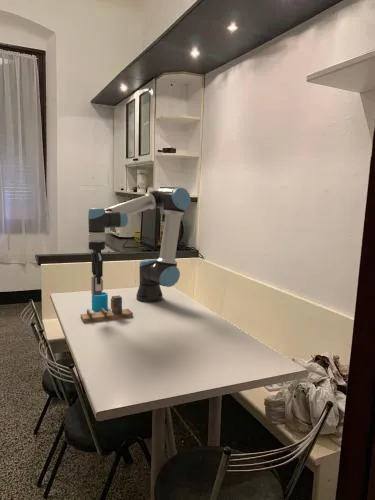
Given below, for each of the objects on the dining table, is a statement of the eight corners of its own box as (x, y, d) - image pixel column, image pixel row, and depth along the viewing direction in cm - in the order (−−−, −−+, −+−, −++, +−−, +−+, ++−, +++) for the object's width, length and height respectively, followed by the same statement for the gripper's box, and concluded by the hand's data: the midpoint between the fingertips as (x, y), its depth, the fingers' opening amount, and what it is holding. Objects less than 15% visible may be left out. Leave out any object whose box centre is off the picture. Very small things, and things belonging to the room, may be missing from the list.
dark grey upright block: (100, 292, 190) (101, 276, 189) (103, 294, 187) (103, 278, 186) (91, 293, 188) (91, 277, 187) (93, 295, 185) (93, 279, 183)
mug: (109, 310, 203) (109, 295, 202) (93, 312, 200) (93, 296, 198) (103, 304, 214) (103, 289, 213) (88, 305, 210) (88, 291, 209)
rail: (128, 312, 200) (128, 293, 199) (132, 316, 194) (132, 297, 192) (80, 318, 190) (80, 298, 188) (83, 322, 183) (83, 302, 182)
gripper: (84, 238, 189) (85, 285, 193) (92, 243, 174) (93, 294, 178) (100, 238, 193) (100, 284, 196) (109, 243, 178) (109, 292, 181)
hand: (97, 289), depth 187 cm, fingers closed on dark grey upright block, 4 cm apart
